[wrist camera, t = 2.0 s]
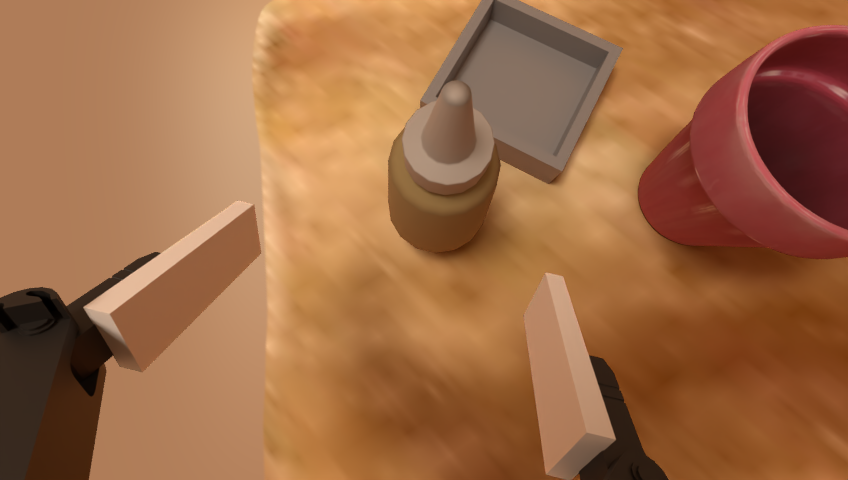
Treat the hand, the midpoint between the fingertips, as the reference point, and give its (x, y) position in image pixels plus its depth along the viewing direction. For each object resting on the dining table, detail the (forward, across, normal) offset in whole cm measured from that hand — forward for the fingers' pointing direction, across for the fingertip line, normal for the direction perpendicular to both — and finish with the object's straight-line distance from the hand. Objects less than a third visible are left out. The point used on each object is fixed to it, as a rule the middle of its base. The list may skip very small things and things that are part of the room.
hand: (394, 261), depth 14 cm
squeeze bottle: (+15, +1, -6) cm, 16 cm away
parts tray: (+25, +6, +4) cm, 26 cm away
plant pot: (+20, +24, -1) cm, 31 cm away
